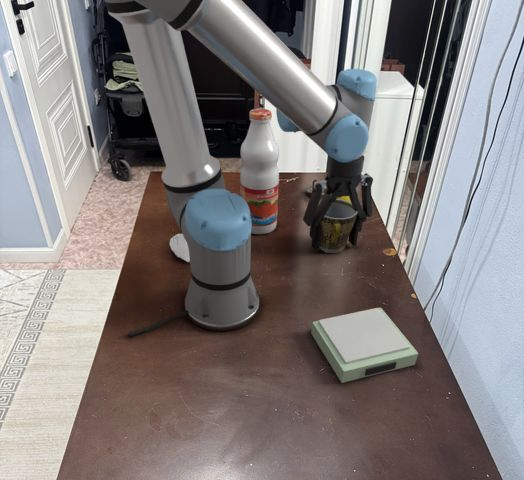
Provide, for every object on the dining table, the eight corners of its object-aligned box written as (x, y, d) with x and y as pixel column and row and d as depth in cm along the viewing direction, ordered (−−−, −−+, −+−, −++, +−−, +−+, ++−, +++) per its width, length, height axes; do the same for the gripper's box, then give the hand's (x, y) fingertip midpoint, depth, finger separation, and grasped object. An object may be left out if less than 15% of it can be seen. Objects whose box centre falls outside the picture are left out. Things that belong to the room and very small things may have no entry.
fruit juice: (265, 214, 132) (268, 102, 113) (283, 229, 126) (290, 114, 107) (234, 222, 129) (231, 108, 110) (251, 238, 123) (252, 121, 104)
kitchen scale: (342, 384, 88) (345, 370, 85) (310, 333, 97) (312, 319, 95) (415, 366, 91) (420, 352, 89) (378, 318, 101) (381, 305, 99)
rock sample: (310, 170, 143) (328, 159, 136) (329, 188, 146) (347, 178, 138) (294, 197, 141) (311, 187, 133) (313, 215, 143) (331, 206, 136)
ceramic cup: (309, 234, 125) (313, 197, 118) (349, 236, 125) (355, 199, 118) (311, 263, 115) (316, 224, 108) (354, 265, 115) (362, 226, 108)
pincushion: (202, 262, 115) (200, 240, 111) (176, 266, 113) (173, 244, 110) (190, 236, 123) (188, 215, 119) (166, 240, 122) (163, 219, 118)
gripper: (306, 166, 99) (297, 261, 114) (401, 154, 104) (381, 247, 120) (292, 151, 104) (286, 245, 119) (384, 141, 109) (366, 232, 125)
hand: (333, 246), depth 120 cm, fingers closed on ceramic cup, 9 cm apart
